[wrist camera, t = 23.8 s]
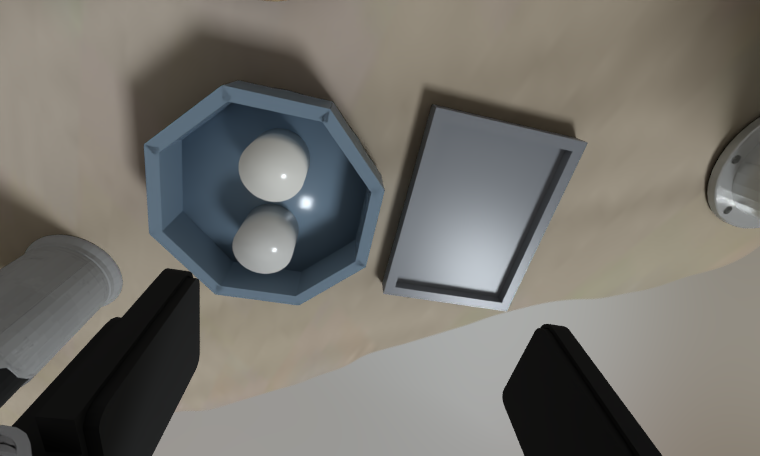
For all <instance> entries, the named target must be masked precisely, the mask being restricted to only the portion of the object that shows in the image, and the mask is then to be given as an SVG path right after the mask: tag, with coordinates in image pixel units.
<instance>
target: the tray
mask: <svg viewBox="0 0 760 456" xmlns="http://www.w3.org/2000/svg"><path fill="white" fill-rule="evenodd" d="M586 145H587V142H585V141H582V140H580V139H578V138H574V137H570V136H566V135H561V134H557V133H553V132H549V131H544V130H540V129H536V128H532V127H527V126H523V125H519V124H515V123H510V122H506V121H502V120H498V119H493V118H489V117H485V116H481V115H477V114H472V113H468V112H464V111H460V110H455V109H451V108H447V107H443V106H438V105H434V104H432V106H431V110H430V113H429V117H428V120H427V124H426V128H425V131H424V135H423V138H422V142H421V146H420V149H419V153H418V156H417V160H416V164H415V167H414V171H413V174H412V178H411V182H410V185H409V189H408V192H407V196H406V200H405V203H404V207H403V210H402V214H401V218H400V221H399V225H398V228H397V232H396V236H395V239H394V243H393V246H392V250H391V254H390V257H389V261H388V264H387V268H386V272H385V275H384V279H383V283H382V286H383V293H384V294H389V295H396V296H403V297H410V298H417V299H424V300H431V301H438V302H445V303H452V304H459V305H466V306H473V307H480V308H487V309H494V310H501V311H507V310H508V308H509V306H510V304H511V302H512V299H513V297H514V295H515V293H516V291H517V289H518V287H519V285H520V283H521V281H522V279H523V277H524V275H525V272H526V270H527V268H528V266H529V264H530V262H531V260H532V258H533V256H534V254H535V252H536V250H537V247H538V245H539V243H540V241H541V239H542V237H543V235H544V233H545V231H546V229H547V227H548V225H549V222H550V220H551V218H552V216H553V214H554V212H555V210H556V208H557V206H558V204H559V202H560V200H561V198H562V195H563V193H564V191H565V189H566V187H567V185H568V183H569V181H570V179H571V177H572V175H573V173H574V170H575V168H576V166H577V164H578V162H579V160H580V158H581V156H582V154H583V152H584V150H585V148H586Z"/></svg>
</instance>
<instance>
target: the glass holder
mask: <svg viewBox="0 0 760 456" xmlns="http://www.w3.org/2000/svg"><path fill="white" fill-rule="evenodd" d="M122 283H123V280H122V275H121V272H120V270H119V268H118V266H117V264H116V263H115V261H114V260H113V259H112V258H111V257H110V256H109V255H108V254H107V253H106V252H105V251H104V250H102V249H101V248H99V247H98V246H96V245H95V244H93V243H91V242H89V241H86V240H84V239H81V238H78V237H74V236H69V235H50V236H45V237H42V238H40V239H37V240H36V241H35V242H33V243H32V244H31V245H30V246H29V247H28V248H27V250H26V252H25V254H24V255H22V256H21V257H19V258H18V259H16V260H14V261H13V262H11V263H10V264H8V265H7V266H5V267H3V268H2V269H0V408H1V407H2V406H3V405H4V404H5V403H6V402H7V400H8V399H9V398H10V397H11V396H12V395H13V394H14V393H15V392H16V391H17V390H18V389H19V388H20V387H22V386H23V385H25V384H26V383H28V382H29V381H30V380H31V379H32V378H33V377H34V376H35V375H36V374H37V373H38V372H39V371H40V370H41V369H42V368H43V367H44V366H45V365H46V364H47V363H48V362H49V361H50V360H51V359H52V358H53V357H54V355H55V354H56V353H57V352H58V351H59V350H60V349H61V348H62V347H63V346H64V345H65V344H66V343H67V342H68V341H69V340H70V339H71V338H72V337H73V336H74V335H75V334H76V333H77V332H78V331H79V330H80V328H81V327H82V326H83V325H84V324H85V323H86V322H87V321H88V320H89V319H90V318H91V317H92V316H93V315H94V314H95V313H96V312H97V311H98V310H99V309H100V308H101V307H103V306H105V305H108V304H109V303H111V302H113V301H114V300H115V299H116V298H117V297H118V295H119V294H120V292H121V289H122Z"/></svg>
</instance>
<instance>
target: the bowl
mask: <svg viewBox="0 0 760 456" xmlns="http://www.w3.org/2000/svg"><path fill="white" fill-rule="evenodd" d="M274 128H282V129H287V130H290V131H292V132H294V133H296V134H297V135H298V136H300V137H301V138H302V139H303V141H304V142H305V143H306V145H307V147H308V149H309V152H310V166H309V169H308V172H307V175H306V178H305V181H304V184H303V186H302V188H301V189H300V191H299V192H298V193H297V194H296V195H295V196H294V197H292V198H290V199H288V200H285V201H281V202H270V201H266V200H263V199H260V198H258V197H256V196H255V195H253V194H252V193H251V192H250V191H249V190H248V189H247V188H246V187H245V186H244V184H243V182H242V180H241V178H240V175H239V160H240V157H241V155H242V153H243V151H244V150H245V149H246V148H247V147H248V146H249V145H250V144H251V143H252V142H253V141H254V140H255V139H256V138H257V137H258V136H259V135H260V134H261V133H263V132H264V131H267V130H269V129H274ZM144 156H145V172H146V189H147V205H148V222H149V233H150V235H151V236H152V237H153V238H154V239H156V240H157V241H158V242H159V243H160V244H161V245H162V246H163V247H164V248H165V249H166V250H168V251H169V252H170V253H171V254H172V255H173V256H174V257H175V258H176V259H177V260H178V261H180V262H181V263H182V264H183V265H184V266H185V267H186V268H187V269H188V270H189V271H190V272H192V273H193V274H194V275H195V276H196V277H197V278H198V279H199V280H200V281H201V282H202V283H204V284H205V285H206V286H207V287H208V288H209V289H210V290H211V291H212V292H213V293H214V294H217V295H224V296H232V297H239V298H247V299H255V300H262V301H270V302H277V303H285V304H292V305H300V304H302V303H304V302H306V301H307V300H309V299H311V298H313V297H314V296H316V295H318V294H319V293H321V292H323V291H325V290H326V289H328V288H330V287H332V286H333V285H335V284H337V283H339V282H340V281H342V280H344V279H346V278H347V277H349V276H351V275H353V274H354V273H356V272H358V271H360V270H361V269H363V268H365V267H366V264H367V260H368V255H369V251H370V247H371V243H372V239H373V235H374V231H375V227H376V223H377V219H378V215H379V211H380V207H381V203H382V199H383V195H384V191H385V190H384V186H383V181H382V177H381V174H380V172H379V171H378V169H377V168H376V166H375V165H374V163H373V162H372V160H371V158H370V157H369V155H368V154H367V152H366V151H365V149H364V147H363V146H362V144H361V142H360V140H359V139H358V137H357V136H356V134H355V133H354V132H353V130H352V129H351V128H350V127H349V125H348V124H347V122H346V121H345V119H344V118H343V116H342V115H341V113H340V112H339V110H338V109H337V107H336V106H335V104H334V103H333V101H328V100H324V99H319V98H315V97H310V96H306V95H303V94H300V93H297V92H293V91H290V90H285V89H279V88H271V87H266V86H262V85H257V84H253V83H249V82H244V81H240V80H238V81H235V82H231V83H228V84H225V85H222V86H220V87H219V88H218V89H216V90H215V91H214V92H212V93H211V94H210V95H208V96H207V97H206V98H204V99H203V100H202V101H200V102H199V103H198V104H197V105H195V106H194V107H193V108H191V109H190V110H189V111H187V112H186V113H185V114H183V115H182V116H181V117H179V118H178V119H177V120H175V121H174V122H173V123H171V124H170V125H169V126H167V127H166V128H165V129H163V130H162V131H161V132H159V133H158V134H157V135H155V136H154V137H153V138H152V139H150V140H149V141H148V142H146V143H145V144H144ZM263 204H276V205H279V206H282V207H284V208H286V209H287V210H289V211H290V212H291V213H292V214H293V215H294V216H295V218H296V220H297V222H298V226H299V233H298V237H297V241H296V244H295V248H294V251H293V255H292V258H291V260H290V262H289V263H288V265H287V266H286V267H285V268H283V269H282V270H280V271H278V272H275V273H269V274H262V273H256V272H253V271H251V270H249V269H247V268H245V267H244V266H243V265H241V264H240V263H239V261H238V260H237V259H236V257H235V255H234V252H233V248H232V244H233V239H234V237H235V235H236V233H237V232H238V230H239V228H240V227H241V225H242V223H243V222H244V220H245V219H246V217H247V215H248V214H249V213H250V211H251V210H253V209H254V208H255V207H257V206H260V205H263Z"/></svg>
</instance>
